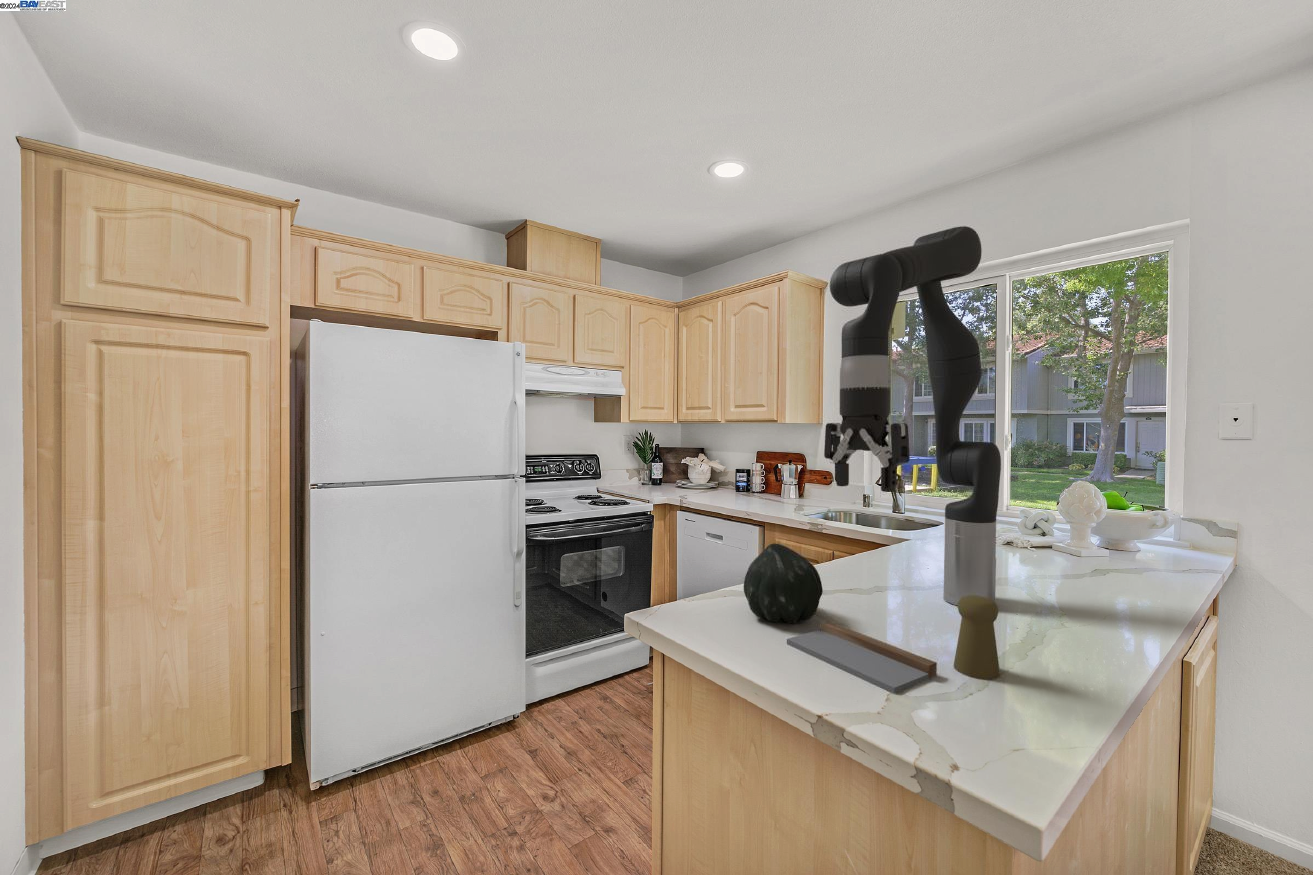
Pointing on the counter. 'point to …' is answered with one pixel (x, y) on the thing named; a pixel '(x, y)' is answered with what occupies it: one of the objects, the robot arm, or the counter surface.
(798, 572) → the squash
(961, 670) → the olive pawn-shaped piece
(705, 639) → the counter surface
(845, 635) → the walnut rail
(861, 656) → the slate mat
